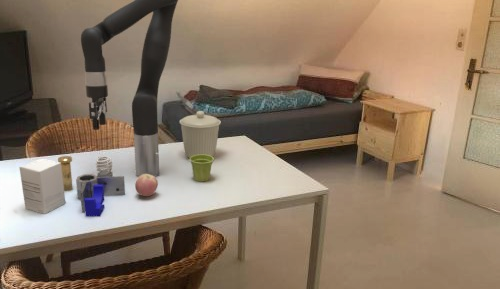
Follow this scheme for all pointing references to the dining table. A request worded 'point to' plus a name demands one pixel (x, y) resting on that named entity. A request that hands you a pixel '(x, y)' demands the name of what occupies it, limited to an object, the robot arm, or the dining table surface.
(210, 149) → the canister
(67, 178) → the hinge pin
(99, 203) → the cable clip
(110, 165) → the light bulb
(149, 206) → the dining table surface
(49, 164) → the supplement box
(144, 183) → the apple
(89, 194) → the hinge leaf lower
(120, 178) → the hinge leaf upper
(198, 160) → the plant pot
